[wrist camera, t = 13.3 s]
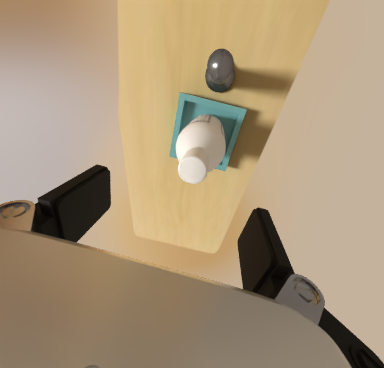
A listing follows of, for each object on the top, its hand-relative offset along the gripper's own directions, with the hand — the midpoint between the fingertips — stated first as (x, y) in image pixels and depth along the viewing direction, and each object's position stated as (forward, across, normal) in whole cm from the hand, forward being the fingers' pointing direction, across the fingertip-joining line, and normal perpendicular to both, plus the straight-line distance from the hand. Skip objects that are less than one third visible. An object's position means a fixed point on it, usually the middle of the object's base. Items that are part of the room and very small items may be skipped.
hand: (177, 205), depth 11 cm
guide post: (+27, 0, -10) cm, 29 cm away
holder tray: (+27, 0, 0) cm, 27 cm away
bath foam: (+26, 0, 0) cm, 26 cm away
